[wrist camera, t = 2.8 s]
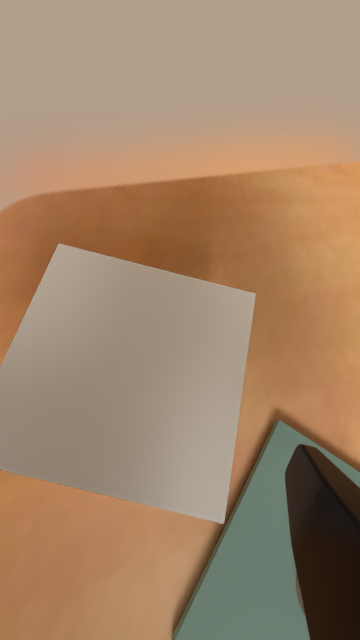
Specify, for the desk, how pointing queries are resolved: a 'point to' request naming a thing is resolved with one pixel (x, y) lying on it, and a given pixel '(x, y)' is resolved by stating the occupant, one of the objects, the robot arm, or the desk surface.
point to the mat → (255, 558)
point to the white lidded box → (127, 383)
